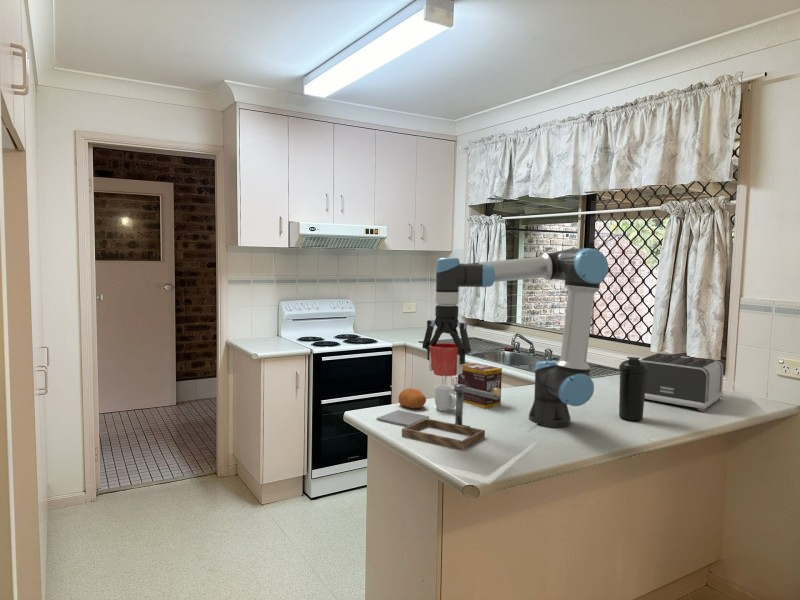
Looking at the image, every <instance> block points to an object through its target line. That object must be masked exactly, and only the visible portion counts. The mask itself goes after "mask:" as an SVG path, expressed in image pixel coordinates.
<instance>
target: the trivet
mask: <svg viewBox="0 0 800 600" xmlns="http://www.w3.org/2000/svg"><path fill="white" fill-rule="evenodd" d="M425 418H427V419H430V416H429V415H425V414H419V413H414V412H410V411H404V410H400V409H399V410H398V409H397V410H394V411H392V412H389V413H386V414H384V415H381V416H377V417H376V421H378V420H379V422H383V421H384V422H383V423H388V424H393V425H398V426H401V427H407V426H409V425H411V424H414V423H416V422H418V421H421V420H423V419H425Z"/></svg>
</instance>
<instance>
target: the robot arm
mask: <svg viewBox="0 0 800 600" xmlns="http://www.w3.org/2000/svg"><path fill="white" fill-rule="evenodd" d="M435 267H436V268H435V304H436V305H435V309H434V310H435V311H434V312H435V313H434V315H435V319H428V320H426V326H427V327H426V330H425V334H424V338H423V343H422V346H421V347H422V349H425V350H426V351H427V354H426V355H427V358H426V359H427V361H429V362H428V364H429V365H428V371H429V372H434V371H433V366H432V360H431V354H430V347H429V346H430V345H432V347H433V346H435V345H436V344H437V343H438V341H439V339H440V338H441V335H442V334H444V333H445V334H448V335H450V336H451V338H452V341H453V344H455V345H456V347H458V352H459V355H457V375H456V376H458V375H460V374H462V371H463V365H464V364H466V354H470V353H471V351H472V349H471V345H470V341H469V336H468V331H467V328H468V323H467V322H465V321H464V322H460V321H459V306H458V304H459V295H460V293H459V292H460V287H461V288H464V287H465V288H466V287H467V288H468V287H469V288H487V287H488V288H489V287H490V288H491V287H492V286H493V285H494V284H495V283H498V282H509V281H510V282H511V281H520V280H529V279H531V280H532V279H542V278H543V280H546V281H548V280H558V281H559V280H561V281H564V287H565V288H566V290H567V300H566V309H565V317H564V325H563V334H562V341H561V350H560V351H561V352H560V358H559V360H539V361H537V362H536V364H535V369H534V373H535V374H534V398H533V399H534V400H533V403H532V406H531V408H530V410H529V413H528V420H529V421H530V422H532V423H534V424H536V426H541V427H546V428H566V427H569V426H570V425H571V414H570V411H569V407H568V405H569V406H572V407H579V406H583V405H585V404H586V403H587V402H588V401H590V400H591V398H592V396H593V394H594V391H595V384H594V381H593V379H592V378H591V377H590V370H591V367H590V365H588V363H587V356H588V349H589V341H590V340H589V339H590V332H591V324H592V323H591V322H592V314H593V306H594V298H595V294H596V292H598V291H599V290H600V286H601V282H602V281H603V280H604V279H606V277H608V273H609V261H608V259H607V257H606V256H605V255H604V254H603V252H601V251H600V250H598V249H596V248H590V247H589V248H588V247H583V248H568V249H563V250H559V251H555V252H549V253H542V255H541V256H537V257H535V256H534V257H525V258H513V259H503V260H501V259H500V260H492V261H491V260H490V261H481V262H480V261H479V262H471V263H470V262H469V263H461V262H460V258H458V257H440V258H438V259H437V260H436V266H435ZM435 326H436V329H435V331H434V327H435ZM457 328H458V329H459V331H458V329H457ZM433 332H434V334H433ZM459 333H460V335H459Z"/></svg>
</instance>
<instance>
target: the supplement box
mask: <svg viewBox="0 0 800 600" xmlns="http://www.w3.org/2000/svg"><path fill="white" fill-rule="evenodd" d="M502 373H503V368H502V367H497V366H492V365H488V364H482V363H477V362H472V363H465V364H463V371H462V374H460V375H457V384H463V385H466V387H469V388H473V389H477V390H482V391H486V392H490V393H493V390H494V388H500V389H501V390H502V380H503V379H502V378H503V377H502V375H503V374H502ZM464 403H465V404H469V405H471V406H475V407H477V408H479V409H480V408H481V409H483V410H485V409H490V408H493V407H498V406H501V404H502V396H501V397H500V399H498V400H495V399H491V398H487V397H483V396H479V395H475V394H471V393H466V392H463V404H464Z"/></svg>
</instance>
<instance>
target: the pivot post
mask: <svg viewBox="0 0 800 600" xmlns="http://www.w3.org/2000/svg"><path fill="white" fill-rule="evenodd" d="M455 395H456V396H455V398H456V406H455V423H454V424H457V425H461V426H466V427H471V425H466V424H463V408H464V406H463V405H464V402H463V392H455Z"/></svg>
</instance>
